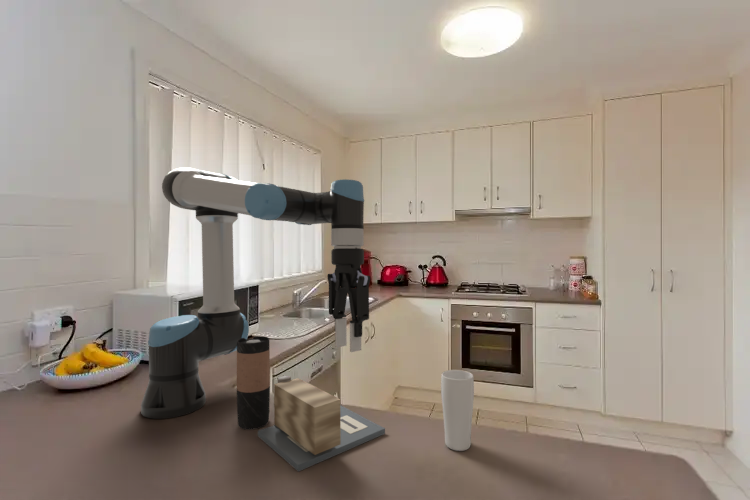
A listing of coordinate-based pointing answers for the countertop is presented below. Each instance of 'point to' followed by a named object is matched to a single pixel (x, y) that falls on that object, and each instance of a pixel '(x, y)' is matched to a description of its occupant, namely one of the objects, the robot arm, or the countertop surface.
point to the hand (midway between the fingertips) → (348, 348)
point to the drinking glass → (457, 408)
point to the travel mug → (253, 382)
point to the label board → (300, 458)
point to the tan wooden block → (307, 414)
